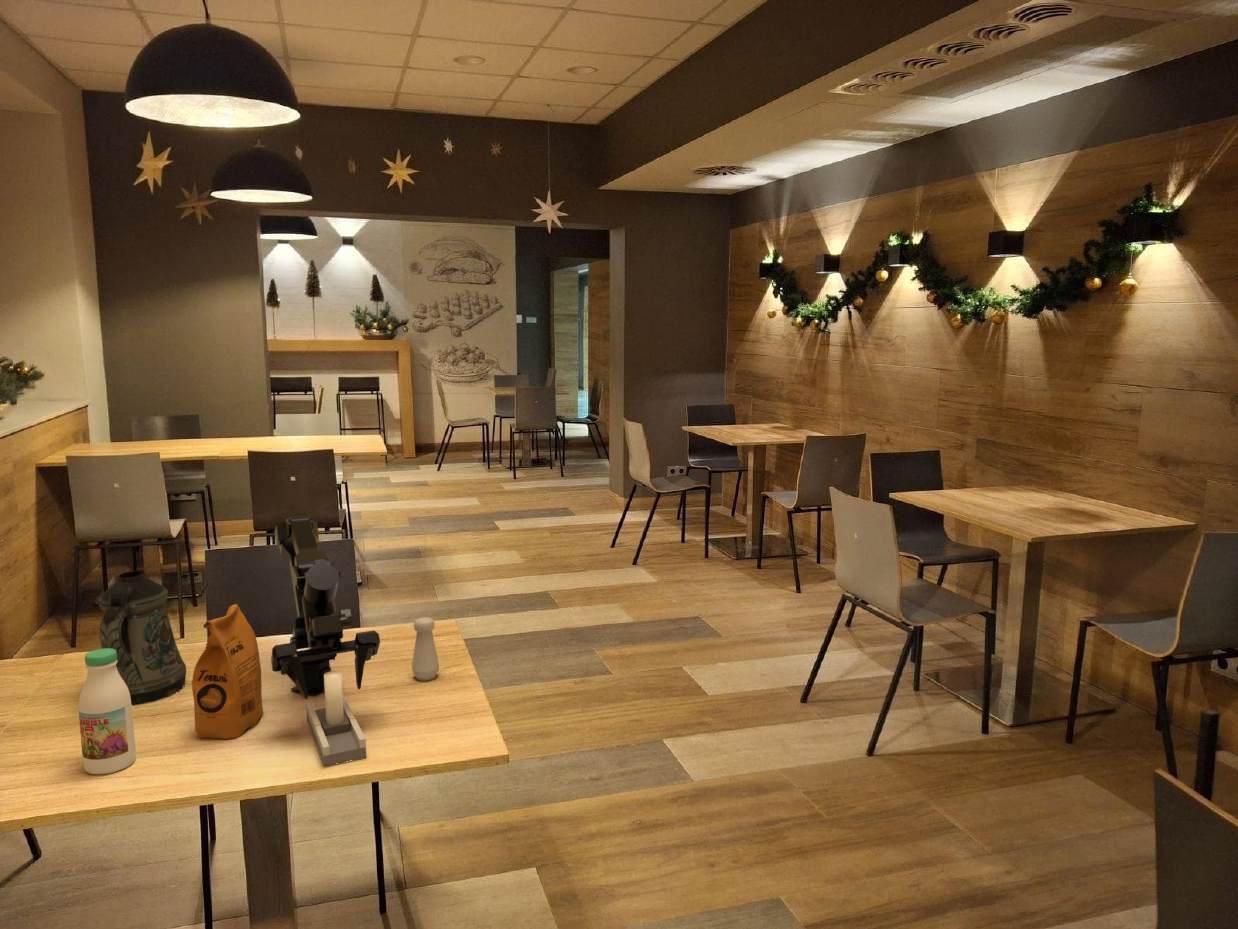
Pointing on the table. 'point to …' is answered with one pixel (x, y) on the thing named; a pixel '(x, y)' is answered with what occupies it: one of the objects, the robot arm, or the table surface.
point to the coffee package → (228, 679)
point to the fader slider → (334, 705)
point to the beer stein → (141, 637)
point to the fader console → (336, 737)
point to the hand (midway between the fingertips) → (333, 693)
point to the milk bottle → (105, 716)
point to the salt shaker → (424, 650)
